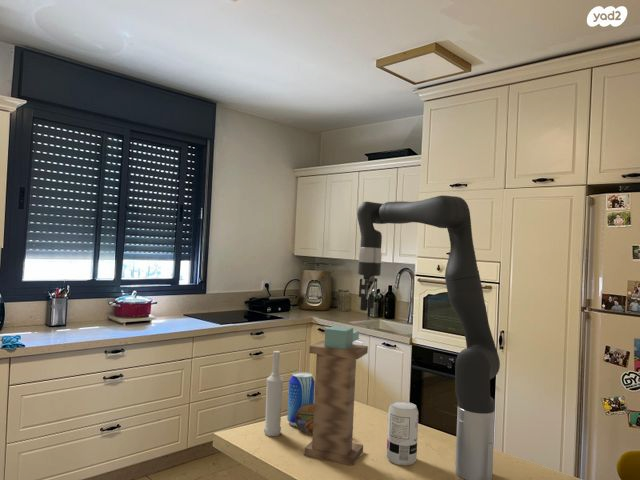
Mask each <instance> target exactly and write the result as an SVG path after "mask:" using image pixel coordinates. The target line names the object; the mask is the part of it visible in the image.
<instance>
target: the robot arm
mask: <svg viewBox="0 0 640 480" xmlns="http://www.w3.org/2000/svg"><path fill="white" fill-rule="evenodd" d="M470 211H471V210H470V208H469V205H468V203H467V201H466V200H465V199H464V198H463V197H459V196H454V195H443V194H442V195H437V196H434V197H430V198H426V199H422V200H418V201H417V200H416V201H415V200H414V201H404V200H402V201H387V202H384V203H380V202H373V201H363V202H362V203H360V204H359V206H358V209H357V213H356V214H357V215H356V216H357V221H358V226H359V227H358V228H359V232H360V249H359V252H358V253H359V254H358V269H357V270H358V271H357V274H358V275H359V276H363V277H362V278H360V279H359V286H358V287H359V288H358V298H360V307H359V309H360V311H364V312H366V311H368V309H371V310H372V309H374V308H375V297H376V296H377V293H378V290H377V289H378V277H380V276H381V271H382V270H381V269H382V243H383V242H382V241H383V240H382V239H383V235H382V232H381V231H379V230H376V229H375V226H374V224H375V225H385V224H409V223H418V224H419V223H420V224H423V225H427V226H432V227H435V228H439V229H446V230H447V232H448V237H449V243H450V249H449V256H448V259H447V263H446V267H445V271H444V280H445V285H446V290H447V296H448V300H449V302H450V304H451V307H452V309H453V312H455V315H456V316H457V318H458V320H459V323H461V326H462V329H463V332H464V338H465V344H466V346H465V347H466V348H464V349H462V350H461V351H460V352H459V353H458V354H457V357H456V360H455V370H454V371H455V372H454V374H455V375H454V378H455V379H454V382H455V383H454V385H455V386H454V387H455V388H454V390H455V391H454V392H455V396H456V400H457V410H456V411H457V413H456V414H457V415H456V416H457V418H456V436H455V437H456V441H455V443H456V444H455V463H454V465H455V467H454V471H455V474H456V475H457V476H458V477H460V478H461V479H464V480H493V473H494V472H493V469H494V467H493V465H494V436H495V435H494V433H495V432H494V431H495V409H496V407H495V405H496V404H495V400H494V398H493V397H492V396H491V380H492V379H493V378H495V377H497V375H498V374H499V371H500V367H501V361H500V358H499V353H498V350H497V347H496V344H495V340H494V338H493V337H494V336H493V334H492V330H491V327H490V323H489V318H488V311H487V306H486V302H485V295H484V291H483V285H482V280H481V276H480V275H481V274H480V273H479V272H480V271H479V266H478V261H477V257H476V252H475V247H474V239H473V230H472V219H471V213H470ZM376 277H377V278H376Z"/></svg>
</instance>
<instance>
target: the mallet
mask: <svg viewBox="0 0 640 480" xmlns="http://www.w3.org/2000/svg"><path fill="white" fill-rule="evenodd" d="M359 332H360V331H359V330H354V327H346V326H338V325H337V326H336V325H332V326H330V327H327V328H325V329H324V341H325V344H324V347H329V348H337V349H347V348H349V347H351V346H353V344H354V343H353V342H355V341H357V340H359V338H360V336H359V335H360V333H359Z"/></svg>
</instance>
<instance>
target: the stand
mask: <svg viewBox="0 0 640 480" xmlns="http://www.w3.org/2000/svg"><path fill="white" fill-rule="evenodd" d="M324 344H325V340H321V341H318V342H315V343H314V344H311V345H309V351H308V352H309V353H308V354H314V355H316V357H315V358H316V361H315V379H314V382H315V385H314V416H313V433H312V436H311V437H312V438H311V441H310V442H309V443H308V444H307V445H306V446H305V447H304V451H303V452H304V453H303V455H304V456H306V457H310V458H315V459H319V460H325V461H329V462H333V463H338V464H343V465H346V466H351V467H353V466H354V465H355V464H356V462H357V461H358V459H359V458H360V457H361V455H362V454H363V452H364V444H361V443H356V442H353V436H354V435H353V432H354V415H355V414H354V411H355V410H354V409H355V392H356V391H355V390H356V369H357V368H356V367H357V365H356V364H357V360H359V359H361V358H362V357H364V356H366V355H367V354H368V352H369V351H368V350H369V346H368V345H360V344H354V343H353V346H351V347H349V348H347V349H337V348H329V347H324Z"/></svg>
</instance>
